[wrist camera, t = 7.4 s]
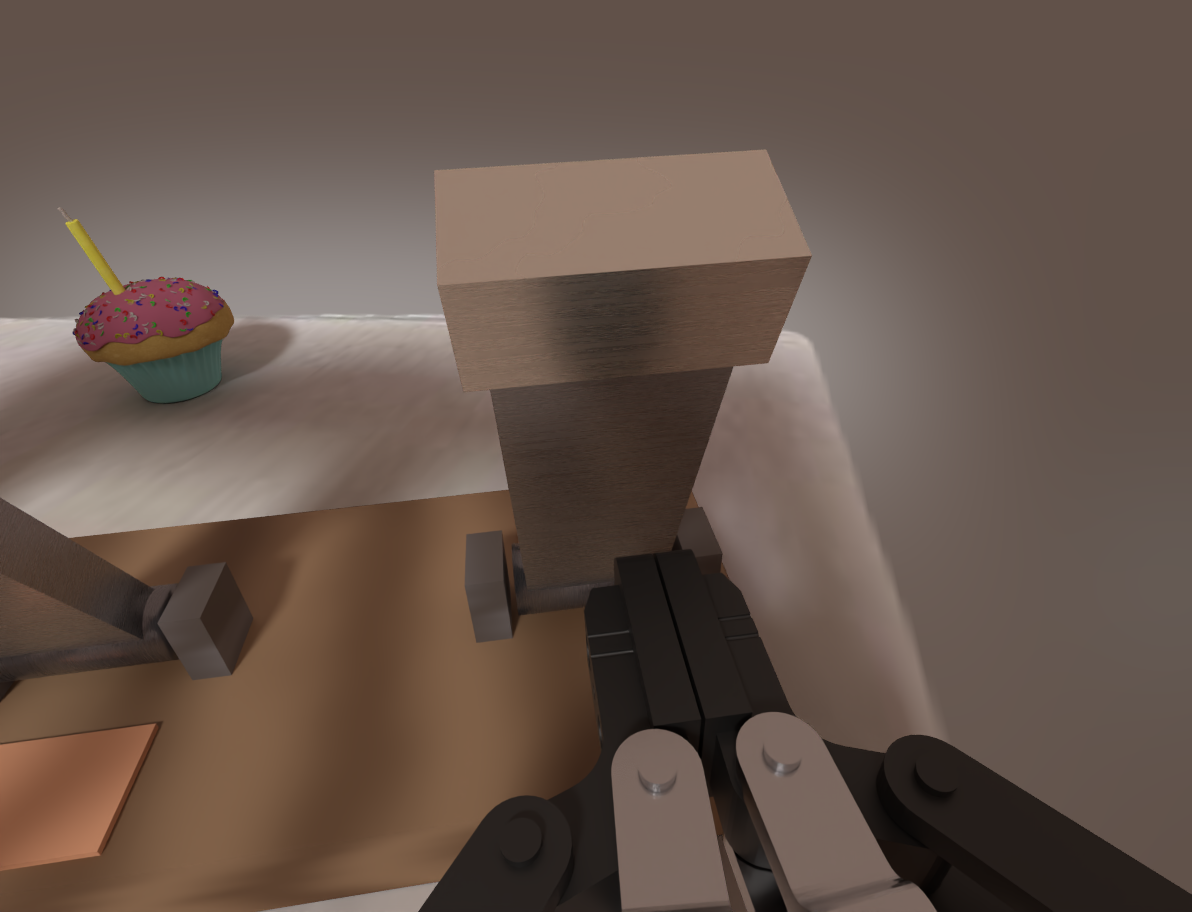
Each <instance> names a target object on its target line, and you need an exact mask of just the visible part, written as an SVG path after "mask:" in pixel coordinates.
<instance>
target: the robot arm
mask: <svg viewBox="0 0 1192 912" xmlns="http://www.w3.org/2000/svg"><path fill="white" fill-rule="evenodd" d="M584 618H585V633H586V648H587V662H588V669H589V675H590V682H591V688H592V696H593V703H594V709H595V716H596V723H597V730H598V737H599V744H600V750H601V753H600V756H599V759H598V761H597V763H596V765H595V766H594V768H593V769H592V771H591V772H590V773H589V774H588V775H587V776H586V777H585V778H584V779H583V780H582V781H580V782H579V783H577V784H576V785H574V786H573V787H571V788H569V789H567V790H565V791H563V792H561V793H560V794H558V795H556V796H554V797H552V798H550V799H548V800H546V799H544V798H541V797H537V796H530V795H524V796H517V797H513V798H510V799H507V800H505V801H503V802H501V803H500V804H498V805H497V806H495V807H494V808H493V809H492V810H491V811H490V812H489V813H488V814H487V815H486V816H485V817H484V819H483V820H482V821H481V823H480V824H479V826H478V827H477V828H476V830H475V831H474V833H473V834H472V836H471V837H470V838H469V840H468V841H467V843H466V844H465V846H464V847H463V848H462V850H461V851H460V853H459V854H458V856H457V857H456V859H455V860H454V861H453V863H452V864H451V866H450V867H449V869H448V870H447V871H446V873H445V874H444V876H443V877H442V879H441V880H440V881H439V883H438V884H437V886H436V887H435V889H434V890H433V891H432V893H431V894H430V896H429V897H428V899H427V900H426V901H425V903H424V904H423V906H422V907H421V909H420V910H419V911H418V912H732V908H731V905H730V901H729V896H728V891H727V886H726V881H725V876H724V871H723V866H722V861H721V856H720V851H719V846H718V840H717V835H716V830H715V825H714V820H713V815H712V810H711V805H710V800H709V797H714V800H715V804H716V808H717V811H718V815H719V818H720V822H721V825H722V829H723V833H722V835H723V843H724V846H725V850H726V852H727V855H728V858H729V861H730V864H731V867H732V870H733V873H734V875H735V878H736V881H737V884H738V887H739V890H740V893H741V895H742V898H743V901H744V904H745V907H746V910H747V912H1192V894H1190V893H1188V892H1187V891H1185V890H1183V889H1182V888H1180V887H1179V886H1177V885H1175V884H1174V883H1172V882H1171V881H1169V880H1167V879H1166V878H1164V877H1163V876H1161V875H1159V874H1158V873H1156V872H1155V871H1153V870H1151V869H1150V868H1148V867H1147V866H1145V865H1143V864H1142V863H1140V862H1139V861H1137V860H1135V859H1134V858H1132V857H1130V856H1129V855H1127V854H1126V853H1124V852H1122V851H1121V850H1119V849H1118V848H1116V847H1114V846H1113V845H1111V844H1110V843H1108V842H1106V841H1104V840H1103V839H1101V838H1100V837H1098V836H1097V835H1095V834H1093V833H1092V832H1090V831H1089V830H1087V829H1085V828H1084V827H1082V826H1081V825H1079V824H1077V823H1076V822H1074V821H1072V820H1071V819H1069V818H1068V817H1066V816H1064V815H1063V814H1061V813H1059V812H1058V811H1056V810H1055V809H1053V808H1051V807H1050V806H1048V805H1047V804H1045V803H1043V802H1042V801H1040V800H1039V799H1037V798H1035V797H1034V796H1032V795H1031V794H1029V793H1027V792H1026V791H1024V790H1022V789H1021V788H1019V787H1018V786H1016V785H1015V784H1013V783H1011V782H1010V781H1008V780H1006V779H1005V778H1003V777H1002V776H1000V775H998V774H997V773H995V772H993V771H992V770H990V769H989V768H987V767H986V766H984V765H982V764H981V763H979V762H978V761H976V760H974V759H973V758H971V757H969V756H968V755H966V754H965V753H963V752H961V751H960V750H958V749H957V748H955V747H953V746H952V745H950V744H948V743H946V742H944V741H942V740H939V739H937V738H933V737H930V736H924V735H909V736H904V737H902V738H900V739H897V740H896V741H895V742H893V743H892V744H891V745H890V747H889V748H888V750H887V752H886V753H880V752H874V751H868V750H863V749H857V748H851V747H845V746H841V745H837V744H834V743H831V742H828V741H826V740H824V739H822V738H821V737H820V736H819V735H818V734H817V732H816V731H815V730H814V729H813V728H812V727H811V726H809V725H808V724H807V723H805V722H804V721H802V720H801V719H799V718H797V717H796V716H795V715H794V713H793V712H792V710H791V708H790V706H789V704H788V701H787V699H786V697H785V694H784V692H783V690H782V687H781V685H780V682H779V680H778V678H777V675H776V673H775V671H774V668H773V666H772V664H771V661H770V659H769V657H768V654H767V652H766V649H765V647H764V645H763V642H762V640H761V638H760V637H759V635H758V631H757V628H756V626H755V624H754V621H753V619H752V618H751V616H750V612H749V609H748V607H747V605H746V602H745V600H744V598H743V595H742V593H741V591H740V590H739V589H738V588H737V587H736V586H735V585H734V584H733V583H732V582H731V581H730V580H729V579H728V578H727V577H726V576H725V575H724V574H723V573H722V572H721V573H713V574H705V575H702V574H701V571H700V568H699V566H698V563H697V560H696V557H695V555H694V553H693V551H692V550H691V549H684V550H676V551H667V552H659V553H654V554H653V555H652V554H651V553H649V554H641V555H633V556H624V557H616V558H614V586H606V587H598V588H592V589H591V592H590V595H589V598H588V600H587V603H586V606H585V609H584Z"/></svg>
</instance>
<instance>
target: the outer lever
mask: <svg viewBox="0 0 1192 912" xmlns="http://www.w3.org/2000/svg"><path fill="white" fill-rule="evenodd" d="M435 208H436V209H435V213H436V252H437V253H436V254H437V286H438V290H439V294H440V298H441V302H442V307H443V311H444V315H445V319H446V323H447V327H448V331H449V335H450V339H451V343H452V347H453V351H454V355H455V359H456V363H457V367H458V371H459V375H460V379H461V384H462V388H463V392H470V391H481V390H490V391H491V396H492V402H493V407H494V412H495V418H496V423H497V429H498V434H499V439H500V445H501V450H502V455H503V461H504V466H505V471H506V477H507V482H508V488H509V493H510V498H511V504H512V509H513V514H514V520H515V525H516V530H517V536H518V541H519V543H513V544H512V563H513V575H514V585H515V594H516V602H517V609H518V614H519V616H521V615H529V614H537V613H544V612H552V611H560V610H568V609H576V608H583V607H585V606H586V603H587V600H588V598H589V595H590V592H591V589H592V588H598V587H606V586H614V558H616V557H624V556H633V555H641V554H649V553H651V554H652V555H653V554H654V553H659V552H667V551H672V547H673V544H674V541H675V538H676V535H677V532H678V529H679V526H680V523H681V520H682V517H683V515H684V512H685V509H686V506H687V503H688V500H689V497H690V494H691V491H692V488H693V485H694V482H695V479H696V476H697V473H698V470H699V467H700V464H701V461H702V458H703V455H704V452H705V449H706V446H707V443H708V440H709V437H710V435H711V432H712V429H713V426H714V423H715V420H716V417H717V414H718V411H719V408H720V405H721V402H722V399H723V396H724V393H725V390H726V387H727V384H728V381H729V378H730V375H731V372H732V369H733V366H744V365H754V364H765V363H768V362H769V360H770V358H771V355H772V353H773V350H774V348H775V345H776V343H777V340H778V338H779V335H780V333H781V331H782V328H783V326H784V323H785V321H786V318H787V316H788V313H789V311H790V308H791V306H792V304H793V301H794V299H795V296H796V294H797V291H798V289H799V286H800V284H801V282H802V279H803V277H804V274H805V272H806V269H807V267H808V264H809V262H810V259H811V257H812V254H811V252H810V250H809V248H808V245H807V243H806V241H805V238H804V236H803V234H802V231H801V229H800V227H799V225H798V222H797V220H796V218H795V215H794V213H793V211H792V208H791V206H790V204H789V202H788V199H787V197H786V194H785V192H784V190H783V187H782V185H781V183H780V181H779V178H778V176H777V174H776V171H775V169H774V167H773V164H772V162H771V160H770V158H769V155H768V153H767V151H766V150H752V151H736V152H720V153H704V154H688V155H673V156H658V157H657V156H656V157H642V158H641V157H640V158H625V159H609V160H593V161H578V162H561V163H545V164H529V165H514V166H499V167H498V166H497V167H481V168H465V169H449V170H435Z"/></svg>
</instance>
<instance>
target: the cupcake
mask: <svg viewBox="0 0 1192 912" xmlns="http://www.w3.org/2000/svg"><path fill="white" fill-rule="evenodd" d="M57 209H58V210H59V211H60V212H61V213H62V214H63V216H64V217H65V218H66V219H67V220H68V222H66V225H67V227H68V228H69V230H70V231H71V233H72V234H73V236H74V237H75V238H76V240H77V241H78V243H79V244H80V246H81V247H82V249H83V250H84V251H85V253H86V254H87V256H88V257H89V259H90V260H91V262H92V263H93V264H94V266H95V267H96V269H97V270H98V272H99V273H100V275H101V276H102V278H103V279H104V280H105V282H106V283H107V285H108V286H109V288H110V289H111V290H110V291H109V292H107V293H105V294H104V292H103V293H102V294H101V295H100V296H99V297H97V298H95V299H94V300H93V301H92V302H91V303H90V304H89V305H88V306H85V308H86V309H85V311H84V310H83V311H82V312H80V313H79V314H80V315H81V316H80V318H79V320H78V319H75V321H76V322H77V324H76V328H74V330H73V335H75V336H76V340H77V342H78V344H79V346H80V347H81V348H82V349H83V350H84V351H85V352H86V353H87V354H88V356H89V357H90V358H91V359H92V360H93V361H95V362H106V363H107V364H109V365H110V366H111V367H113V368H114V369H115V370H116V371H117V372H119V373H120V374H121V375H122V376H123V377H124V378H125V379H126V380H127V381H128V382H129V383H130V384H131V385H132V386H133V387H134V388H135V389H136V390H137V391H138V392H139V393H140V394H141V395H142V396H143V398H145V399H146V400H148V401H150V402H154V403H173V402H180V401H184V400H188V399H192V398H195V397H197V396H200V395H202V394H204V393H206V392H208V391H210V390H211V389H213V388H214V387H216V386H217V385H218V384H219V382H220V381H221V378H222V374H221V344H222V340H223V338H225V337H226V336H227V335H228V333H229V330H230V328H231V327H232V325H233V324H234V317H233V315H232V312H231V310H230V308H229V306H228V305H227V304H226V302H225V301H224V300H223V299H221V297H220V296H219V295H218V291H216V290H210V288H209V287H208V288H206V287H204V286H202V285H199V284H197V283H195V282H194V281H192V280H184V279H183V278H166V279H165V278H164V277H159V278H158V279H154V280H149V279H146V280H141V281H140V282H139V281H137V282H131V281H130V282H129V283H131V284H127V285H124V286H122V284H121V283H120V281H119V280H118V278H117V277H116V275H115V274H114V273H113V271H112V269H111V268H110V267H109V265H108V264H107V262H106V261H105V259H104V258H103V256H102V255H101V253H100V252H99V250H98V249H97V247H96V246H95V244H94V243H93V241H92V240H91V238H90V237H89V235H88V234H87V232H86V231H85V229H84V228H83V226H82V225H81V224H80V222H79V221H78V220H77V219H75V220H72V219H71V218H70V217H69V216H68V215H67V213H66V212H65V211H64V210H63V209H62V208H60V207H59V208H57ZM160 278H162V279H160ZM215 291H216V293H215ZM74 333H75V334H74Z"/></svg>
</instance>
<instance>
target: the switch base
mask: <svg viewBox="0 0 1192 912" xmlns="http://www.w3.org/2000/svg"><path fill="white" fill-rule="evenodd" d="M69 539H71V540H72V541H74V542H76V543H77V544H79V545H81V546H82V547H84V548H86V549H87V550H89V551H91V552H92V553H94V554H96V555H97V556H99V557H101V558H103V559H104V560H106V561H108V562H109V563H111V564H113V565H114V566H116V567H118V568H119V569H121V570H123V571H124V572H126V573H128V574H129V575H131V576H133V577H134V578H136V579H138V580H140V581H141V582H143V583H145V584H146V585H148V586H158V585H167V584H175V583H179V584H178V585H177V587H176V589H175V591H174V593H173V595H172V597H171V599H170V600H169V602H168V604H167V606H166V608H165V610H164V612H163V614H162V615H161V617H160V619H159V621H158V623H157V624H158V625H159V627H160V629H161V630H162V632H163V634H164V635H165V637H166V638H167V640H168V642H169V643H170V645H171V646H172V648H173V650H174V651H175V653H176V655H177V656H178V658H179V660H172V661H165V662H157V663H149V664H141V665H133V666H126V667H118V668H110V669H102V670H95V671H87V672H79V673H71V674H63V675H56V676H48V677H40V678H32V679H25V680H17V681H9V682H1V683H0V912H257V911H263V910H269V909H275V908H281V907H287V906H293V905H300V904H306V903H312V902H318V901H324V900H330V899H336V898H342V897H348V896H354V895H360V894H366V893H372V892H378V891H384V890H390V889H396V888H402V887H408V886H414V885H420V884H426V883H432V882H438V881H440V880H441V879H442V877H443V876H444V874H445V873H446V871H447V870H448V869H449V867H450V866H451V864H452V863H453V861H454V860H455V859H456V857H457V856H458V854H459V853H460V851H461V850H462V848H463V847H464V846H465V844H466V843H467V841H468V840H469V838H470V837H471V836H472V834H473V833H474V831H475V830H476V828H477V827H478V826H479V824H480V823H481V821H482V820H483V819H484V817H485V816H486V815H487V814H488V813H489V812H490V811H491V810H492V809H493V808H494V807H495V806H497V805H498V804H500V803H501V802H503V801H505V800H507V799H510V798H513V797H517V796H524V795H530V796H537V797H541V798H544V799H546V800H548V799H550V798H552V797H554V796H556V795H558V794H560V793H561V792H563V791H565V790H567V789H569V788H571V787H573V786H574V785H576V784H577V783H579V782H580V781H582V780H583V779H584V778H585V777H586V776H587V775H588V774H589V773H590V772H591V771H592V769H593V768H594V766H595V765H596V763H597V761H598V759H599V756H600V753H601V750H600V744H599V737H598V730H597V723H596V716H595V709H594V703H593V696H592V688H591V682H590V675H589V669H588V662H587V648H586V633H585V618H584V609H585V607H583V608H576V609H568V610H560V611H552V612H544V613H537V614H529V615H521V616H519V614H518V609H517V602H516V594H515V585H514V575H513V563H512V544H513V543H519V541H518V536H517V530H516V525H515V520H514V514H513V509H512V504H511V498H510V493H509V490H502V491H493V492H484V493H474V494H465V495H456V496H447V497H438V498H429V499H420V500H411V501H402V502H393V503H384V504H374V505H365V506H356V507H347V508H338V509H329V510H320V511H311V512H302V513H293V514H284V515H275V516H265V517H256V518H247V519H238V520H229V521H220V522H211V523H202V524H193V525H184V526H175V527H165V528H156V529H147V530H138V531H129V532H120V533H111V534H102V535H93V536H84V537H75V538H69ZM684 549H691V550H692V551H693V553H694V555H695V557H696V560H697V563H698V566H699V568H700V571H701V574H702V575H705V574H713V573H721V572H722V573H723V574H724V575H725V576H726V577H727V578H728V579H729V577H728V575H727V573H726V570H725V568H724V566H723V563H722V552H721V549H720V547H719V545H718V542H717V540H716V538H715V536H714V533H713V531H712V529H711V526H710V524H709V522H708V519H707V517H706V515H705V512H704V510H703V508H702V507H698V505H697V502H696V500H695V498H694V495H693V493H692V491H691V494H690V497H689V500H688V503H687V506H686V509H685V512H684V515H683V517H682V520H681V523H680V526H679V529H678V532H677V535H676V538H675V541H674V544H673V547H672V551H676V550H684ZM709 800H710V805H711V810H712V815H713V820H714V825H715V830H716V835H722V833H723V829H722V825H721V822H720V818H719V815H718V811H717V808H716V804H715V800H714V797H709Z"/></svg>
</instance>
